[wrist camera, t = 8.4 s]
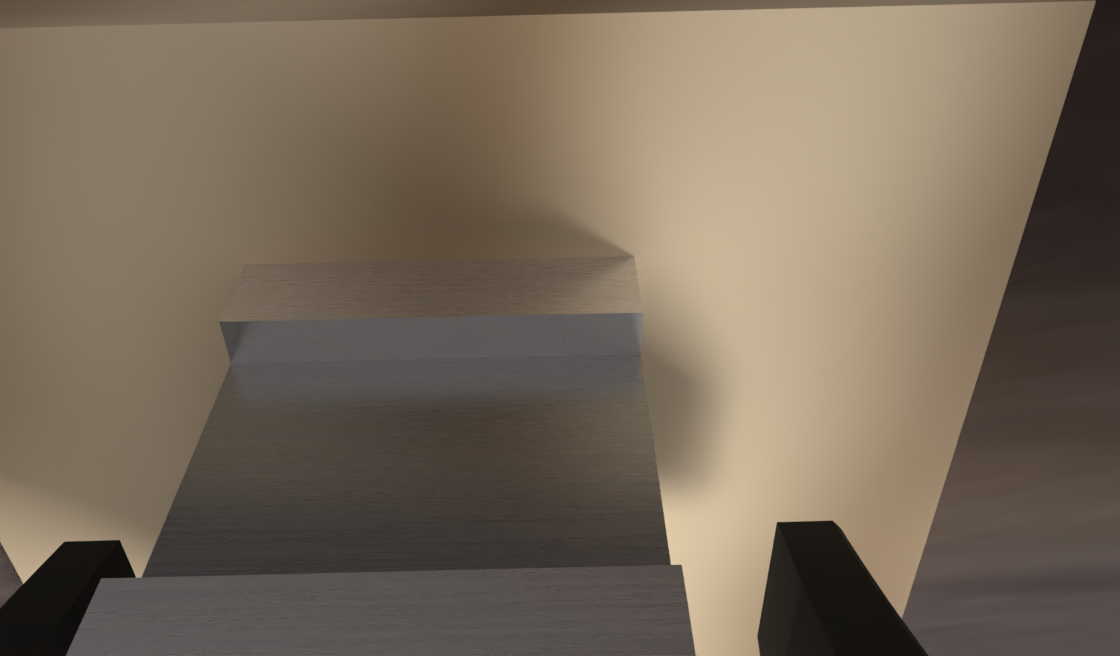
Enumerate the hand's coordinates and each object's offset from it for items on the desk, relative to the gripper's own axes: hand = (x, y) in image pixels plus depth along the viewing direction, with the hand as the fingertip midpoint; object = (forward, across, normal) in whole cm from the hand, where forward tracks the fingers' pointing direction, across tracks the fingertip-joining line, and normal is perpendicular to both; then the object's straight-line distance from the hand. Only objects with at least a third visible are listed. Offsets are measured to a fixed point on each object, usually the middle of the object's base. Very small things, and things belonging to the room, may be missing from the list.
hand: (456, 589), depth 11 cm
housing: (+1, 0, 0) cm, 1 cm away
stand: (+3, 0, 0) cm, 3 cm away
